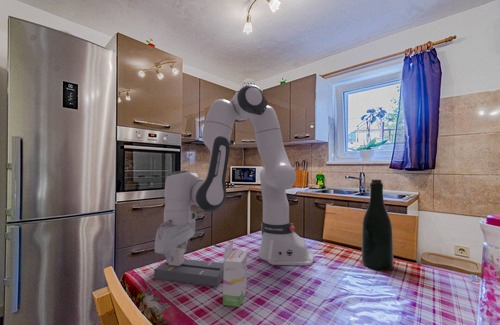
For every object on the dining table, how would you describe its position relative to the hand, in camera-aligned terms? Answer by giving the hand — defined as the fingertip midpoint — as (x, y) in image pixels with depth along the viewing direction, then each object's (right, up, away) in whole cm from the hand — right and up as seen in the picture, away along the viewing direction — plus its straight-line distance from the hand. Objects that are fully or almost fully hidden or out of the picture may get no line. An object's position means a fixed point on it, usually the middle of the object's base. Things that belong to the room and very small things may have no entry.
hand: (176, 257), depth 76 cm
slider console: (+6, -5, -1) cm, 8 cm away
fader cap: (0, -4, 0) cm, 4 cm away
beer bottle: (+74, -7, +8) cm, 75 cm away
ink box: (+22, -5, -14) cm, 26 cm away
